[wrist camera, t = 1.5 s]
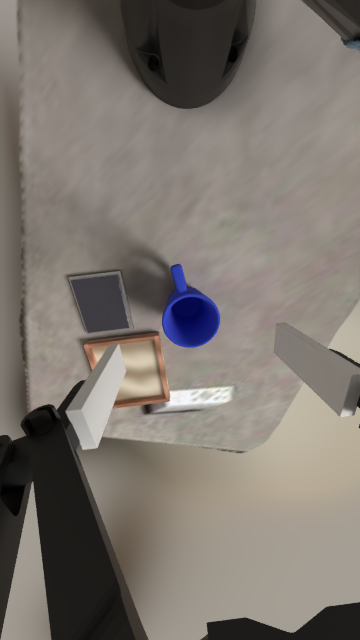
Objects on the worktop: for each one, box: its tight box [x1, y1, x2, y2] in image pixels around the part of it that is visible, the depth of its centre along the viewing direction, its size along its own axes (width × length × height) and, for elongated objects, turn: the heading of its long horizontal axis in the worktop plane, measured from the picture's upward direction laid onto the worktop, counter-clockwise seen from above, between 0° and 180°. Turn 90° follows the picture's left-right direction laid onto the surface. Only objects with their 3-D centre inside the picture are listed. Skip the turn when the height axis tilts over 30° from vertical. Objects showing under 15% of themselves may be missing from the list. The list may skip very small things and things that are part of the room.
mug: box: [162, 264, 220, 348], centre depth 29 cm, size 8×12×10 cm
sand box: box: [84, 332, 170, 408], centre depth 38 cm, size 17×15×2 cm
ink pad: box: [68, 271, 134, 334], centre depth 33 cm, size 11×9×1 cm
